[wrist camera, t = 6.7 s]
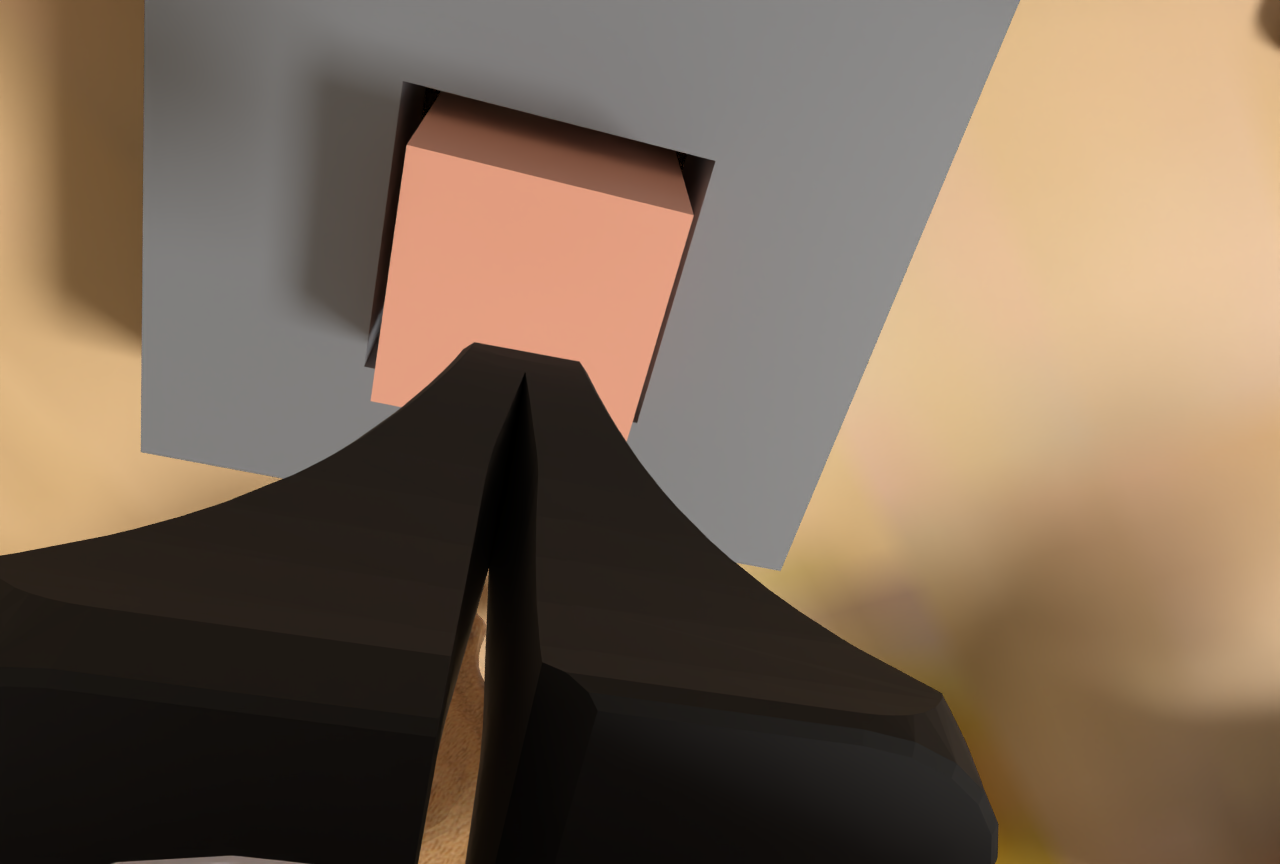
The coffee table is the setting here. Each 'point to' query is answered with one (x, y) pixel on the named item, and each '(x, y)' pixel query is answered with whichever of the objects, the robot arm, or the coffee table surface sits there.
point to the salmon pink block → (530, 249)
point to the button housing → (576, 94)
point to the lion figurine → (457, 763)
